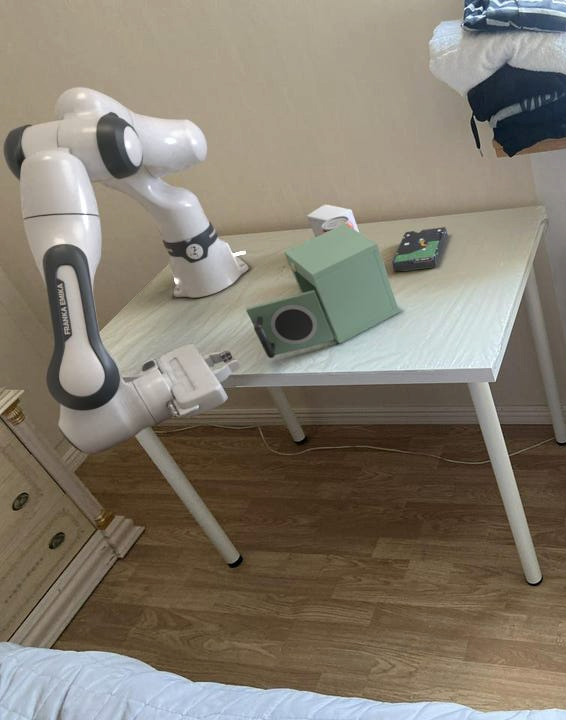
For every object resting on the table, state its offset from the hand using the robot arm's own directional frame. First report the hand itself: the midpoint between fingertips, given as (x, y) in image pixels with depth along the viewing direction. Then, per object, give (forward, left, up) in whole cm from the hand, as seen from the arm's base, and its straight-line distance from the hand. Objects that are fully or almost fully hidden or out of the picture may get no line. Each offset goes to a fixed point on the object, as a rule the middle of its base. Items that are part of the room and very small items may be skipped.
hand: (234, 357), depth 129 cm
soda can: (-29, +30, -7) cm, 42 cm away
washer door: (-2, +11, -5) cm, 13 cm away
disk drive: (-25, +46, -7) cm, 52 cm away
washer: (-10, +25, -7) cm, 27 cm away
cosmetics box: (-43, +31, -7) cm, 53 cm away
